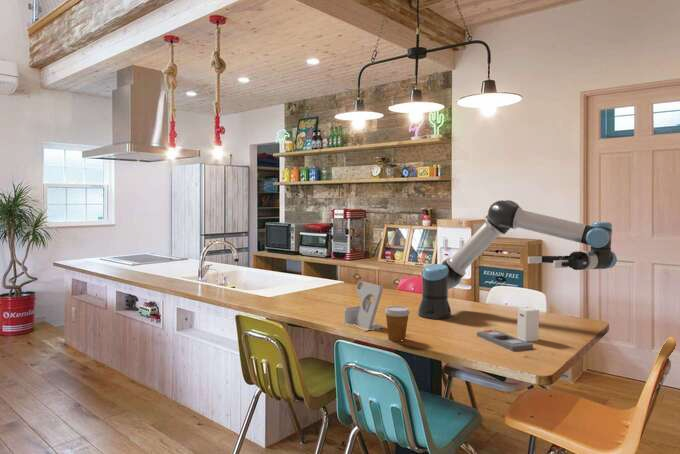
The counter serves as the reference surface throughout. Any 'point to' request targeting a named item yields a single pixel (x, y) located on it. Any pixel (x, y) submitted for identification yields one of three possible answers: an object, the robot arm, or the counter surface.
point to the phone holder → (364, 307)
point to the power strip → (504, 340)
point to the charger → (528, 324)
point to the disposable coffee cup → (396, 322)
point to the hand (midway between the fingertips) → (540, 262)
